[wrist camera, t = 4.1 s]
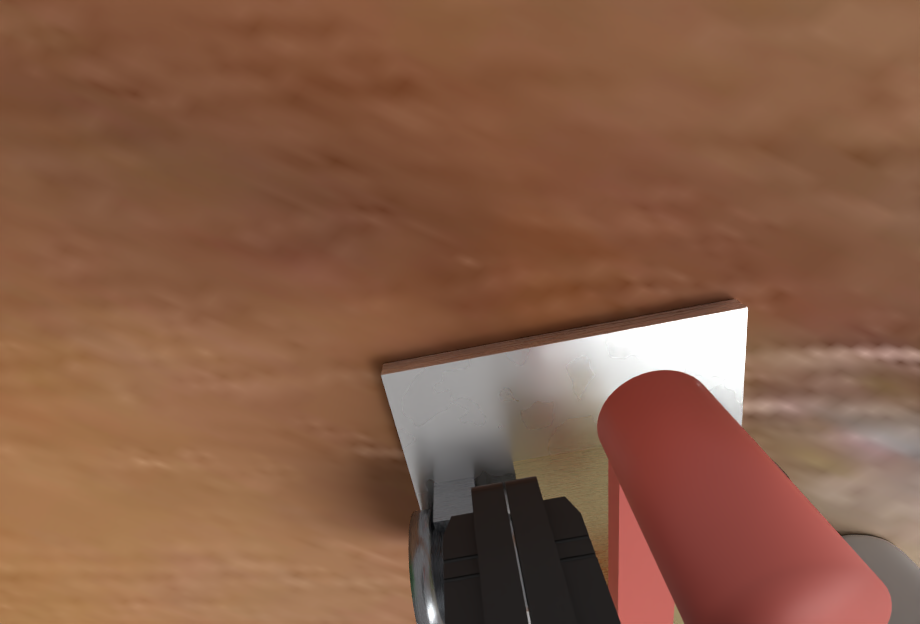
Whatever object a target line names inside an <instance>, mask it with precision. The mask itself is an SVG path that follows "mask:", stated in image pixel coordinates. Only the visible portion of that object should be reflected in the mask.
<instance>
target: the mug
mask: <svg viewBox="0 0 920 624" xmlns="http://www.w3.org/2000/svg"><path fill="white" fill-rule="evenodd" d="M841 537H842V538H843V539H844V540H845V541H846V542H847V543H848V544H849V545H850V547H851V548H852V549H853V550H854V551H855V552H856V553H857V554H858V555H859V556H860V558H861V559H862V560H863V561H864V562H865V563H866V564H867V565H868V566H869V567H870V569H871V570H872V571H873V572H874V573H875V574H876V575H877V576H878V577H879V579H880V580H881V581H882V582H883V583H884V585H885V586H886V587H887V589H888V591H889V593H890V596H891V601H892V611H891V616H890V620H889V622H888V624H920V568H919V567H918V566H917V565H916V564H915V563H914V562H913V561H912V560H911V559H910V558H909V557H908V556H907V555H906V554H905V553H904V552H903V551H901V550H900V549H899V548H898V547H896V546H895V545H893V544H892V543H890V542H888V541H886V540H884V539H881V538H877V537H874V536H868V535H844V536H841Z"/></svg>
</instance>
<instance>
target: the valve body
mask: <svg viewBox="0 0 920 624" xmlns="http://www.w3.org/2000/svg"><path fill="white" fill-rule="evenodd" d="M747 314H748V307H746V306H745V305H743V304H742V303H740V302H739V301H738V300H736V299H731V300H726V301H720V302H715V303H709V304H704V305H699V306H693V307H688V308H682V309H677V310H672V311H666V312H661V313H655V314H650V315H645V316H639V317H634V318H628V319H623V320H618V321H612V322H607V323H601V324H596V325H590V326H585V327H580V328H574V329H569V330H563V331H558V332H553V333H547V334H542V335H536V336H531V337H526V338H520V339H515V340H509V341H504V342H499V343H493V344H488V345H482V346H477V347H472V348H466V349H461V350H455V351H450V352H445V353H439V354H434V355H428V356H423V357H418V358H412V359H407V360H401V361H396V362H391V363H385V364H383V367H382V372H381V377H382V381H383V384H384V388H385V391H386V394H387V398H388V401H389V405H390V408H391V411H392V415H393V418H394V421H395V425H396V428H397V432H398V435H399V438H400V442H401V445H402V449H403V452H404V455H405V459H406V462H407V466H408V469H409V472H410V476H411V479H412V482H413V486H414V489H415V493H416V496H417V499H418V503H419V506H420V510H418V511H414V512H413V514H412V516H411V520H410V527H409V571H410V583H411V592H412V599H413V606H414V612H415V617H416V622H417V624H445V606H444V571H443V564H444V562H443V535H444V533H445V530H446V528H447V525H448V523H449V521H450V518H451V516H456V515H461V514H467V513H473V506H472V496H471V487H476V486H482V485H488V484H494V483H499V482H502V484H503V489H504V494H505V500H506V505H507V510H508V516H509V521H510V526H511V532H512V537H513V542H514V548H515V553H516V558H517V564H518V569H519V574H520V580H521V585H522V590H523V596H524V601H525V606H526V612H527V617H528V622H529V624H531V621H530V616H529V611H528V606H527V601H526V595H525V590H524V585H523V580H522V575H521V569H520V564H519V559H518V554H517V548H516V543H515V537H514V532H513V526H512V521H511V515H510V509H509V504H508V498H507V493H506V487H505V481H510V480H515V479H521V478H527V477H533V476H536V477H537V480H538V483H539V487H540V491H541V494H542V498H543V500H546V499H552V498H558V497H563V496H565V497H566V498H567V499H568V500H569V501H570V502H571V503H572V504H573V505H574V506H575V507H576V508H577V509H578V510H579V512H580V513H581V515H582V517H583V520H584V523H585V526H586V528H587V531H588V534H589V538H590V539H591V542H592V545H593V548H594V550H595V554H596V557H597V559H598V561H599V564H600V567H601V570H602V572H603V575H604V578H605V581H606V583H607V586H608V457H607V455H606V453H605V451H604V449H603V447H602V444H601V442H600V440H599V437H598V432H597V421H598V417H599V413H600V411H601V408H602V406H603V404H604V403H605V401H606V400H607V398H608V397H609V396H610V395H611V394H612V393H613V391H614V390H616V389H617V388H618V387H619V386H620V385H622V384H623V383H625V382H626V381H628V380H630V379H632V378H633V377H636V376H638V375H640V374H644V373H647V372H651V371H657V370H674V371H680V372H683V373H686V374H689V375H691V376H693V377H695V378H696V379H698V380H699V381H700V382H701V383H702V384H703V385H704V386H705V387H706V388H707V389H708V390H709V391H710V392H711V393H712V395H713V396H714V397H715V398H716V399H717V400H718V401H719V402H720V403H721V404H722V406H723V407H724V408H725V409H726V410H727V411H728V412H729V413H730V414H731V415H732V417H733V418H734V419H735V420H736V421H737V422H738V423H739V424H740V425H741V427H742V409H743V390H744V371H745V352H746V333H747ZM771 460H772V459H771ZM772 461H773V460H772ZM773 462H774V461H773ZM774 463H775V462H774ZM775 464H776V463H775ZM776 465H777V464H776ZM777 466H778V465H777ZM778 467H779V466H778ZM779 468H780V467H779ZM780 469H781V468H780ZM781 471H782V472H783V473H784V474H785V475H786V473H785V472H784V471H783V470H782V469H781ZM786 476H787V475H786ZM787 477H788V476H787ZM788 478H789V477H788ZM791 482H792V481H791ZM673 623H674V624H684V622H683V620H682V618H681V616H680V613H679V611H678V609H677V607H676V605H675V606H674V619H673Z"/></svg>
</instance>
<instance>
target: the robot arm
mask: <svg viewBox="0 0 920 624" xmlns="http://www.w3.org/2000/svg"><path fill="white" fill-rule="evenodd" d="M505 487H506V493H507V498H508V504H509V509H510V515H511V521H512V526H513V532H514V537H515V543H516V548H517V554H518V559H519V564H520V569H521V575H522V580H523V585H524V590H525V595H526V601H527V606H528V611H529V616H530V621H531V624H621V622H620V619H619V616H618V614H617V611H616V608H615V605H614V603H613V600H612V597H611V594H610V592H609V589H608V586H607V583H606V581H605V578H604V575H603V572H602V570H601V567H600V564H599V561H598V559H597V557H596V554H595V550H594V548H593V545H592V542H591V539H590V538H589V534H588V531H587V528H586V526H585V523H584V520H583V517H582V515H581V513H580V512H579V510H578V509H577V508H576V507H575V506H574V505H573V504H572V503H571V502H570V501H569V500H568V499H567V498H566V497H565V496H563V497H558V498H552V499H546V500H543V498H542V494H541V491H540V487H539V483H538V480H537V477H536V476H533V477H527V478H521V479H515V480H510V481H505ZM471 496H472V506H473V513H467V514H461V515H456V516H451V518H450V521H449V523H448V525H447V528H446V530H445V533H444V535H443V562H444V564H443V571H444V606H445V624H529V622H528V617H527V612H526V606H525V601H524V596H523V590H522V585H521V580H520V574H519V569H518V564H517V558H516V553H515V548H514V542H513V537H512V532H511V526H510V521H509V516H508V510H507V505H506V500H505V494H504V489H503V484H502V482H499V483H494V484H488V485H482V486H476V487H471Z"/></svg>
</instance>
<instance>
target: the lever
mask: <svg viewBox="0 0 920 624" xmlns="http://www.w3.org/2000/svg"><path fill="white" fill-rule="evenodd" d="M597 432H598V437H599V440H600V442H601V444H602V447H603V449H604V451H605V453H606V455H607V457H608V589H609V592H610V594H611V597H612V600H613V603H614V605H615V608H616V611H617V614H618V616H619V619H620V622H621V624H674V623H673V619H674V606H675V605H676V607H677V609H678V611H679V613H680V616H681V618H682V620H683V622H684V624H888V622H889V620H890V616H891V611H892V601H891V596H890V593H889V591H888V589H887V587H886V586H885V585H884V583H883V582H882V581H881V580H880V579H879V577H878V576H877V575H876V574H875V573H874V572H873V571H872V570H871V569H870V567H869V566H868V565H867V564H866V563H865V562H864V561H863V560H862V559H861V558H860V556H859V555H858V554H857V553H856V552H855V551H854V550H853V549H852V548H851V547H850V545H849V544H848V543H847V542H846V541H845V540H844V539H843V538H842V537H841V536H840V534H839V533H838V532H837V531H836V530H835V529H834V528H833V527H832V526H831V525H830V523H829V522H828V521H827V520H826V519H825V518H824V517H823V516H822V515H821V514H820V512H819V511H818V510H817V509H816V508H815V507H814V506H813V505H812V504H811V503H810V501H809V500H808V499H807V498H806V497H805V496H804V495H803V494H802V493H801V491H800V490H799V489H798V488H797V487H796V486H795V485H794V484H793V483H792V482H791V480H790V479H789V478H788V477H787V476H786V475H785V474H784V473H783V472H782V471H781V469H780V468H779V467H778V466H777V465H776V464H775V463H774V462H773V461H772V460H771V458H770V457H769V456H768V455H767V454H766V453H765V452H764V451H763V450H762V449H761V447H760V446H759V445H758V444H757V443H756V442H755V441H754V440H753V439H752V438H751V436H750V435H749V434H748V433H747V432H746V431H745V430H744V429H743V428H742V427H741V425H740V424H739V423H738V422H737V421H736V420H735V419H734V418H733V417H732V415H731V414H730V413H729V412H728V411H727V410H726V409H725V408H724V407H723V406H722V404H721V403H720V402H719V401H718V400H717V399H716V398H715V397H714V396H713V395H712V393H711V392H710V391H709V390H708V389H707V388H706V387H705V386H704V385H703V384H702V383H701V382H700V381H699V380H698V379H696V378H695V377H693V376H691V375H689V374H686V373H683V372H680V371H674V370H657V371H651V372H647V373H644V374H640V375H638V376H636V377H633V378H632V379H630V380H628V381H626V382H625V383H623V384H622V385H620V386H619V387H618V388H617V389H616V390H614V391H613V393H612V394H611V395H610V396H609V397H608V398H607V400H606V401H605V403H604V404H603V406H602V408H601V411H600V413H599V417H598V421H597Z"/></svg>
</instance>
